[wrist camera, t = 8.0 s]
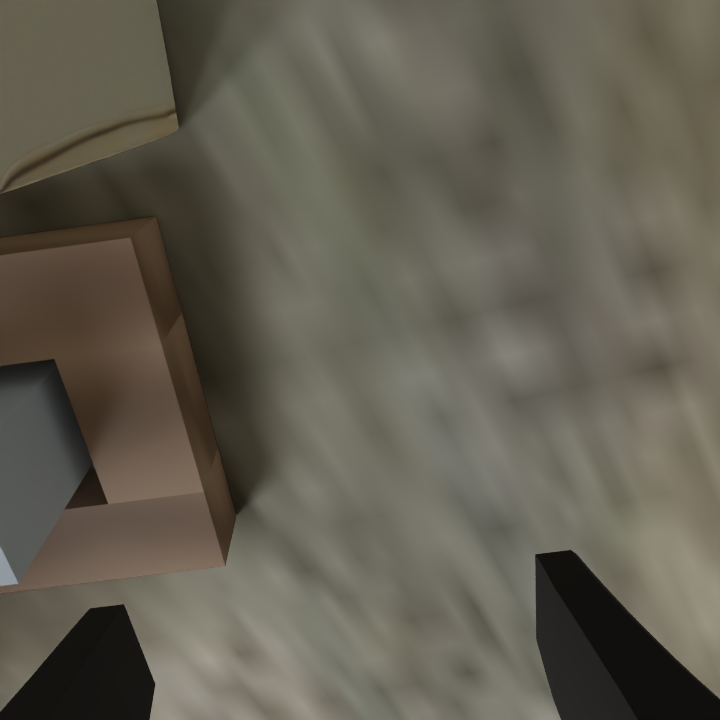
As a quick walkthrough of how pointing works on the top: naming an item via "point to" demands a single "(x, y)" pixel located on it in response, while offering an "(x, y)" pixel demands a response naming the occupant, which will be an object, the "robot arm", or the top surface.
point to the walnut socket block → (118, 403)
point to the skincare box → (79, 84)
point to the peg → (35, 461)
